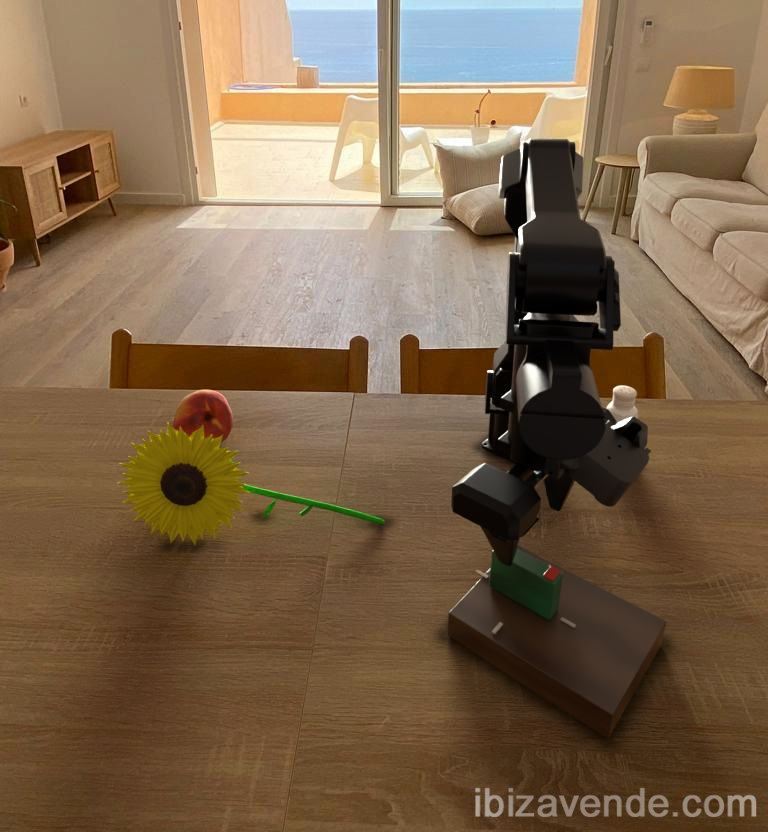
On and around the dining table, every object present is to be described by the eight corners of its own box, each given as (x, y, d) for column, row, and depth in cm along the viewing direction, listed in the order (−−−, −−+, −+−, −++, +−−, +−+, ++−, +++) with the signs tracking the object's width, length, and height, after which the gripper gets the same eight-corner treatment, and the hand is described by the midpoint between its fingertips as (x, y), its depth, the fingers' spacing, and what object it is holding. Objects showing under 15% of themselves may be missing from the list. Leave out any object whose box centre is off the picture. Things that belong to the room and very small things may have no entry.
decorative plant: (401, 460, 80) (145, 392, 77) (403, 483, 75) (127, 411, 72) (365, 568, 83) (118, 506, 81) (365, 598, 78) (100, 533, 75)
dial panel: (607, 739, 57) (612, 713, 55) (440, 631, 66) (440, 606, 65) (661, 644, 65) (667, 619, 64) (505, 560, 75) (507, 537, 73)
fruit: (175, 464, 91) (167, 412, 88) (177, 430, 98) (169, 381, 95) (236, 455, 93) (230, 404, 89) (234, 423, 100) (228, 374, 96)
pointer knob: (489, 586, 68) (491, 549, 66) (498, 575, 69) (501, 538, 67) (549, 621, 64) (554, 582, 62) (558, 609, 65) (563, 570, 63)
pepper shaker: (613, 480, 87) (625, 405, 82) (583, 458, 91) (593, 385, 87) (644, 468, 89) (658, 394, 85) (614, 446, 94) (625, 375, 89)
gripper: (588, 481, 46) (565, 649, 52) (685, 374, 59) (657, 519, 65) (450, 422, 52) (444, 578, 59) (564, 337, 65) (549, 473, 72)
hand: (531, 534), depth 64 cm, fingers open, 9 cm apart
